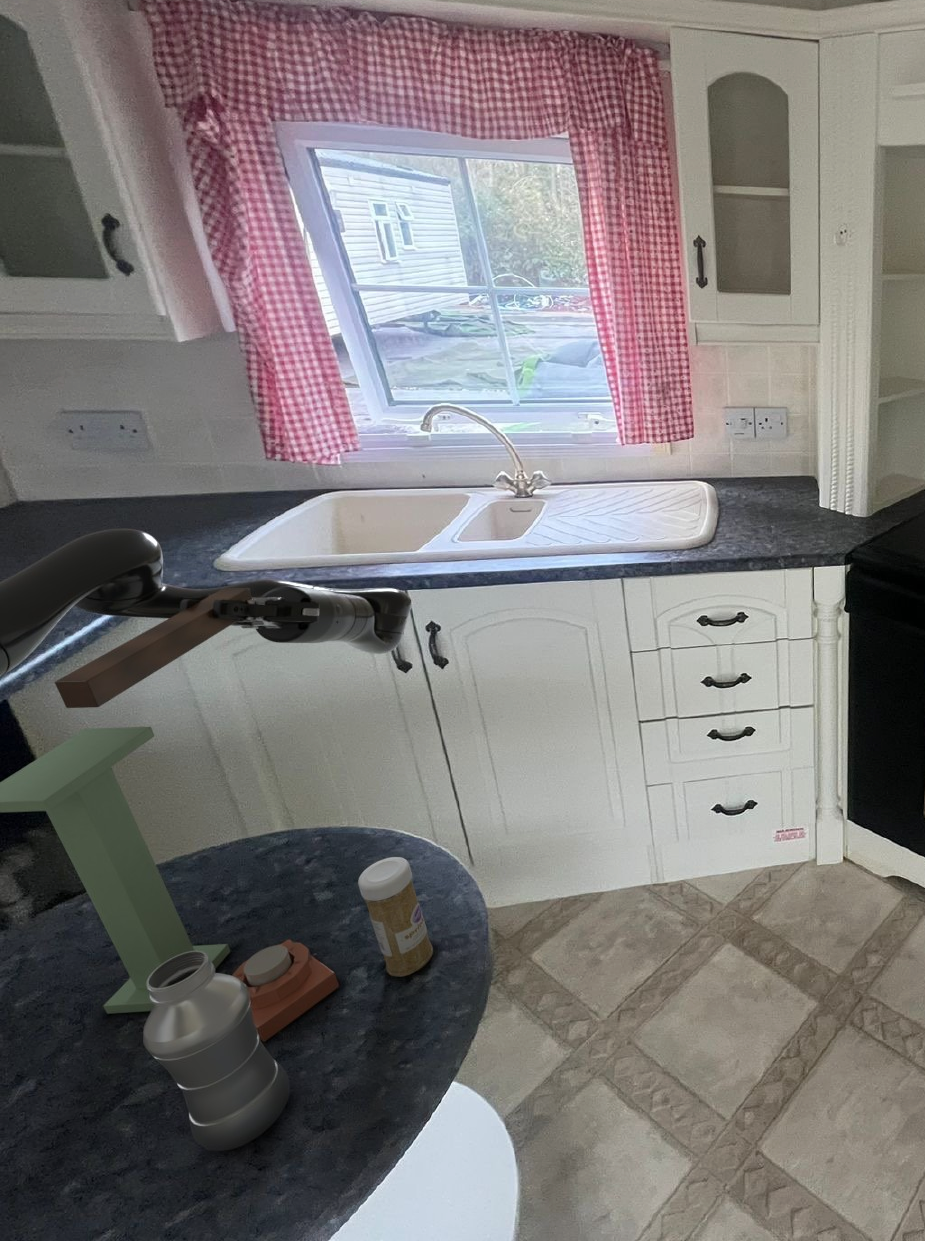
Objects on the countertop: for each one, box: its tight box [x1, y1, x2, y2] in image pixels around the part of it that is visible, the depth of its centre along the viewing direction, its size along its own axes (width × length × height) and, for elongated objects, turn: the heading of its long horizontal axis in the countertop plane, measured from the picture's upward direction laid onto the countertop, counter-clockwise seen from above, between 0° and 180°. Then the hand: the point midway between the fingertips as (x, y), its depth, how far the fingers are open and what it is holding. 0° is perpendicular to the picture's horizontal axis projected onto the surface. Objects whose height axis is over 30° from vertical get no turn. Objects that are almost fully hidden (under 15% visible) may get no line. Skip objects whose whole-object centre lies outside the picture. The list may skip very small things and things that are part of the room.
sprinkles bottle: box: [357, 856, 434, 978], centre depth 82 cm, size 5×5×13 cm
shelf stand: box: [0, 726, 231, 1015], centre depth 75 cm, size 11×7×30 cm, turn 6°
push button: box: [243, 944, 292, 987], centre depth 78 cm, size 4×4×2 cm
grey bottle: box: [142, 950, 291, 1152], centre depth 65 cm, size 6×7×20 cm
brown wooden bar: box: [54, 588, 252, 709], centre depth 80 cm, size 21×3×3 cm, turn 6°
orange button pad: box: [231, 938, 340, 1043], centre depth 79 cm, size 9×7×4 cm
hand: (200, 608), depth 85 cm, fingers closed on brown wooden bar, 3 cm apart
